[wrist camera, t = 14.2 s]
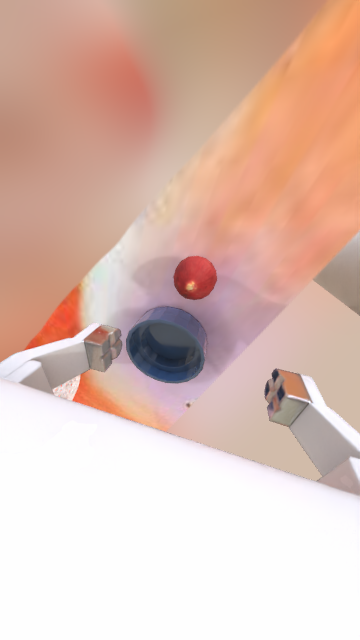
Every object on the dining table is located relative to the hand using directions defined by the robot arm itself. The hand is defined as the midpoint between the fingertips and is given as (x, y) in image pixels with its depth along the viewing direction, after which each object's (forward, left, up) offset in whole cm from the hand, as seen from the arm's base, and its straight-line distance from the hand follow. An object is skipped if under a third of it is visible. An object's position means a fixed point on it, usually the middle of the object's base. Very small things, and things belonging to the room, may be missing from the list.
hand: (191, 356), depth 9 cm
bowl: (+5, +15, -21) cm, 26 cm away
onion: (+2, +1, -21) cm, 21 cm away
